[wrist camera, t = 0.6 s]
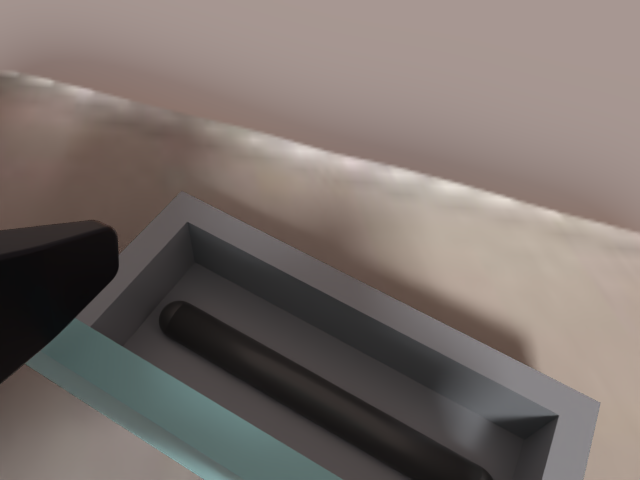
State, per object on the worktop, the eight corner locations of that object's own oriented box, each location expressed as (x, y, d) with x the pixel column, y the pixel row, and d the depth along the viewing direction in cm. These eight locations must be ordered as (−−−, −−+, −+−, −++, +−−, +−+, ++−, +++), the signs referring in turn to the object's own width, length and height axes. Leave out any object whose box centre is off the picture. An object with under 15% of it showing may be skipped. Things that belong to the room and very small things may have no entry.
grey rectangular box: (491, 651, 18) (543, 656, 14) (70, 382, 22) (36, 338, 18) (550, 435, 22) (600, 402, 19) (191, 245, 26) (181, 190, 23)
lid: (550, 663, 14) (542, 697, 14) (31, 336, 18) (13, 356, 18) (798, 754, 7) (794, 827, 7) (-129, 194, 11) (-164, 221, 11)
